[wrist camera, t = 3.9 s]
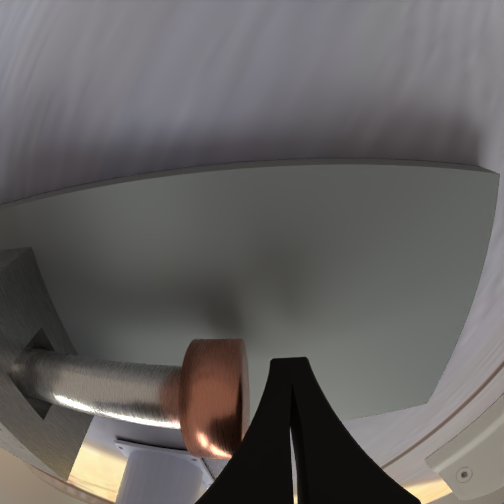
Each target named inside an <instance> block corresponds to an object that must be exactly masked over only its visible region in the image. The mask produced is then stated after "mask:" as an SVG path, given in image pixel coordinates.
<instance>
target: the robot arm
mask: <svg viewBox="0 0 504 504" xmlns="http://www.w3.org/2000/svg"><path fill="white" fill-rule="evenodd" d="M290 427H291V434H292V440H293V447H294V454H295V461H296V470H297V495H298V504H421V502H420V500H419V499H418V498H416V497H415V496H413V495H412V494H411V493H409V492H408V491H407V490H405V489H404V488H403V487H401V486H400V485H399V484H398V483H396V482H395V481H394V480H393V479H392V478H391V477H390V476H388V475H387V474H386V473H385V472H384V471H383V470H382V469H381V468H380V467H379V466H378V465H377V464H376V463H375V462H374V461H373V460H372V459H371V458H370V457H369V456H368V455H367V454H366V453H365V452H364V450H363V449H362V448H361V447H360V446H359V445H358V444H357V442H356V441H355V440H354V439H353V437H352V436H351V435H350V433H349V432H348V431H347V429H346V428H345V427H344V425H343V424H342V422H341V421H340V419H339V418H338V416H337V415H336V413H335V412H334V410H333V409H332V407H331V405H330V404H329V402H328V400H327V398H326V397H325V395H324V393H323V391H322V389H321V388H320V386H319V384H318V381H317V379H316V377H315V375H314V373H313V370H312V368H311V365H310V363H309V359H308V358H307V357H290V358H273V359H272V360H270V368H269V374H268V378H267V382H266V385H265V389H264V392H263V395H262V397H261V400H260V403H259V406H258V408H257V411H256V413H255V415H254V417H253V419H252V422H251V424H250V426H249V428H248V430H247V432H246V434H245V436H244V438H243V439H242V441H241V443H240V445H239V446H238V448H237V450H236V451H235V453H234V454H233V456H232V457H231V459H230V460H229V462H228V463H227V465H226V466H225V468H224V469H223V471H222V472H221V473H220V475H219V476H218V477H217V478H216V480H215V481H214V479H213V478H212V476H211V474H210V473H209V471H208V469H207V468H206V466H205V464H204V462H203V461H202V459H201V458H198V457H193V456H192V455H191V454H190V453H189V452H188V451H182V450H174V449H166V448H159V447H153V446H147V445H141V444H136V443H131V442H126V441H121V440H115V441H114V444H115V446H116V447H117V448H118V449H119V450H120V451H121V452H122V453H123V454H124V455H125V457H126V458H127V459H128V461H127V465H126V468H125V471H124V474H123V478H122V481H121V485H120V488H119V491H118V495H117V498H116V502H115V504H294V498H293V480H292V463H291V446H290ZM207 488H208V489H207ZM503 504H504V503H503Z"/></svg>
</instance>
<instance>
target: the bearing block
mask: <svg viewBox="0 0 504 504" xmlns="http://www.w3.org/2000/svg"><path fill="white" fill-rule="evenodd" d="M26 346H28V347H32V348H37V349H42V350H47V351H52V352H58V353H64V354H70V355H76V356H79V355H78V353H77V352H76V350H75V348H74V346H73V344H72V342H71V340H70V338H69V336H68V334H67V332H66V330H65V328H64V326H63V324H62V322H61V320H60V318H59V316H58V313H57V311H56V309H55V307H54V304H53V302H52V300H51V297H50V295H49V293H48V290H47V288H46V285H45V283H44V280H43V278H42V275H41V272H40V270H39V267H38V264H37V261H36V259H35V256H34V253H33V250H32V247H23V248H15V249H6V250H0V447H1V448H3V449H4V450H6V451H8V452H9V453H11V454H13V455H14V456H16V457H18V458H20V459H21V460H23V461H25V462H27V463H29V464H31V465H33V466H35V467H37V468H39V469H41V470H43V471H45V472H47V473H49V474H51V475H53V476H55V477H58V478H60V479H62V480H64V481H67V480H68V477H69V475H70V472H71V469H72V467H73V464H74V462H75V459H76V457H77V454H78V452H79V449H80V447H81V445H82V442H83V440H84V437H85V435H86V433H87V430H88V428H89V426H90V423H91V421H92V419H93V417H94V415H92V414H88V413H84V412H80V411H76V410H73V409H69V408H66V407H62V406H59V405H55V404H52V403H49V402H46V401H43V400H40V399H37V398H34V397H31V396H29V395H26V394H23V393H21V392H20V391H19V390H18V388H17V387H16V386H15V384H14V383H13V381H12V380H11V379H10V377H9V376H8V374H7V371H8V370H9V368H10V367H11V366H12V364H13V363H14V362H15V360H16V359H17V358H18V356H19V355H20V354H21V352H22V351H23V350H24V348H25V347H26Z"/></svg>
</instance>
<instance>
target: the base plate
mask: <svg viewBox="0 0 504 504" xmlns="http://www.w3.org/2000/svg"><path fill="white" fill-rule="evenodd" d="M499 178H500V174H498V173H496V172H493V171H491V170H488V169H485V168H483V167H480V166H473V165H464V164H455V163H444V162H432V161H418V160H400V159H371V158H315V159H285V160H266V161H251V162H237V163H226V164H215V165H205V166H196V167H188V168H179V169H172V170H164V171H157V172H150V173H144V174H137V175H131V176H125V177H119V178H114V179H108V180H103V181H98V182H93V183H88V184H83V185H78V186H74V187H69V188H65V189H60V190H56V191H52V192H48V193H44V194H40V195H36V196H32V197H28V198H24V199H21V200H17V201H13V202H10V203H6V204H3V205H0V250H6V249H15V248H23V247H32V250H33V253H34V256H35V259H36V261H37V264H38V267H39V270H40V272H41V275H42V278H43V280H44V283H45V285H46V288H47V290H48V293H49V295H50V297H51V300H52V302H53V304H54V307H55V309H56V311H57V313H58V316H59V318H60V320H61V322H62V324H63V326H64V328H65V330H66V332H67V334H68V336H69V338H70V340H71V342H72V344H73V346H74V348H75V350H76V352H77V353H78V355H79V356H82V357H89V358H97V359H105V360H113V361H122V362H132V363H144V364H157V365H174V366H182V364H183V360H184V356H185V353H186V350H187V348H188V346H189V344H190V343H191V342H192V341H193V340H194V339H241V338H242V339H243V340H244V343H245V347H246V352H247V360H248V371H249V388H250V424H251V422H252V419H253V417H254V415H255V413H256V411H257V408H258V406H259V403H260V400H261V397H262V395H263V392H264V389H265V385H266V382H267V378H268V374H269V368H270V360H272V359H273V358H290V357H307V358H308V359H309V363H310V365H311V368H312V370H313V373H314V375H315V377H316V379H317V381H318V384H319V386H320V388H321V389H322V391H323V393H324V395H325V397H326V398H327V400H328V402H329V404H330V405H331V407H332V409H333V410H334V412H335V413H336V415H337V416H338V418H339V419H340V420H348V419H354V418H361V417H367V416H372V415H378V414H383V413H388V412H393V411H397V410H402V409H406V408H410V407H415V406H419V405H422V404H426V403H428V401H429V399H430V397H431V395H432V394H433V392H434V390H435V388H436V386H437V384H438V382H439V380H440V378H441V376H442V374H443V372H444V370H445V368H446V366H447V364H448V362H449V360H450V358H451V355H452V353H453V351H454V349H455V346H456V344H457V342H458V339H459V337H460V334H461V332H462V329H463V327H464V324H465V322H466V319H467V316H468V313H469V311H470V308H471V305H472V302H473V299H474V296H475V293H476V290H477V287H478V283H479V280H480V276H481V273H482V269H483V266H484V262H485V258H486V254H487V250H488V245H489V241H490V236H491V231H492V226H493V221H494V215H495V209H496V202H497V195H498V187H499Z"/></svg>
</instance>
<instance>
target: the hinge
mask: <svg viewBox="0 0 504 504" xmlns="http://www.w3.org/2000/svg"><path fill="white" fill-rule="evenodd" d="M425 461H426V463H427V465H428V466H429V468H430V469H431V470H432V471H435V472H437V473H439V475H440V476H441V477H442V478H443V480H444V481H445V482H446V483H447V485H448V486H449V487H450V488H451V490H452V491H453V492H454V493H455V495H456V496H457V497H458V498H459V499H460V500H463V501H464V500H469V499H473V498H477V497H480V496H483V495H486V494H488V493H491V492H493V491H495V490H497V489H499V488H501V487H503V486H504V394H503V395H502V396H501V397H500V398H499V399H498V400H497V401H496V402H495V403H494V404H493V405H491V406H490V407H489V408H488V409H487V410H486V411H485V412H484V413H483V414H482V415H481V416H480V417H478V418H477V419H476V420H475V421H474V422H473V423H472V424H470V425H469V426H468V427H467V428H466V429H464V430H463V431H462V432H461V433H460V434H458V435H457V436H456V437H455V438H453V439H452V440H451V441H449V442H448V443H447V444H445V445H444V446H443V447H441V448H440V449H439V450H437V451H436V452H434V453H433V454H432V455H430V456H429V457H427V458H426V459H425Z"/></svg>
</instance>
